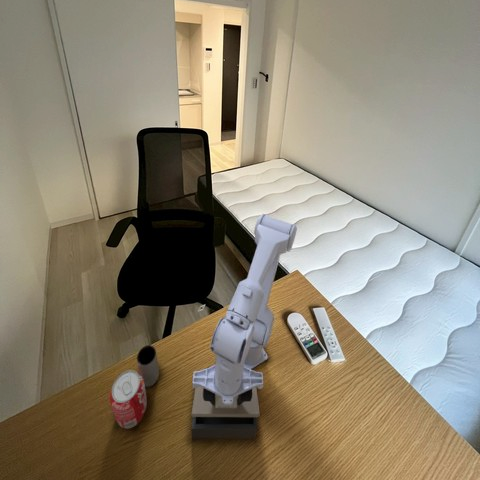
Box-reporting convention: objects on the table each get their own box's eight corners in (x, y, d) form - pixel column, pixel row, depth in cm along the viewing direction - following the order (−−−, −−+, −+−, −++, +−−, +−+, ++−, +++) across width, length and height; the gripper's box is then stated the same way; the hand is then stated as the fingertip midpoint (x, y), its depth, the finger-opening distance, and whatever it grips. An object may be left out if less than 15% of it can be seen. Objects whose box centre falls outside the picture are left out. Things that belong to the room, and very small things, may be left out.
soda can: (140, 384, 64) (135, 359, 58) (153, 411, 59) (148, 386, 54) (111, 409, 59) (103, 384, 54) (123, 440, 54) (115, 416, 49)
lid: (259, 417, 52) (260, 396, 52) (191, 417, 52) (192, 395, 52) (254, 374, 63) (255, 356, 63) (197, 373, 62) (198, 355, 62)
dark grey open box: (255, 439, 56) (257, 429, 54) (191, 438, 55) (191, 428, 53) (252, 384, 65) (254, 373, 63) (197, 383, 65) (197, 372, 62)
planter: (137, 376, 65) (133, 354, 61) (153, 362, 68) (150, 340, 64) (146, 391, 62) (142, 370, 58) (162, 376, 65) (159, 354, 61)
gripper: (189, 391, 45) (190, 424, 50) (267, 392, 45) (259, 424, 51) (195, 348, 51) (195, 381, 57) (263, 349, 52) (257, 382, 57)
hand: (226, 399), depth 54 cm, fingers closed on lid, 5 cm apart
